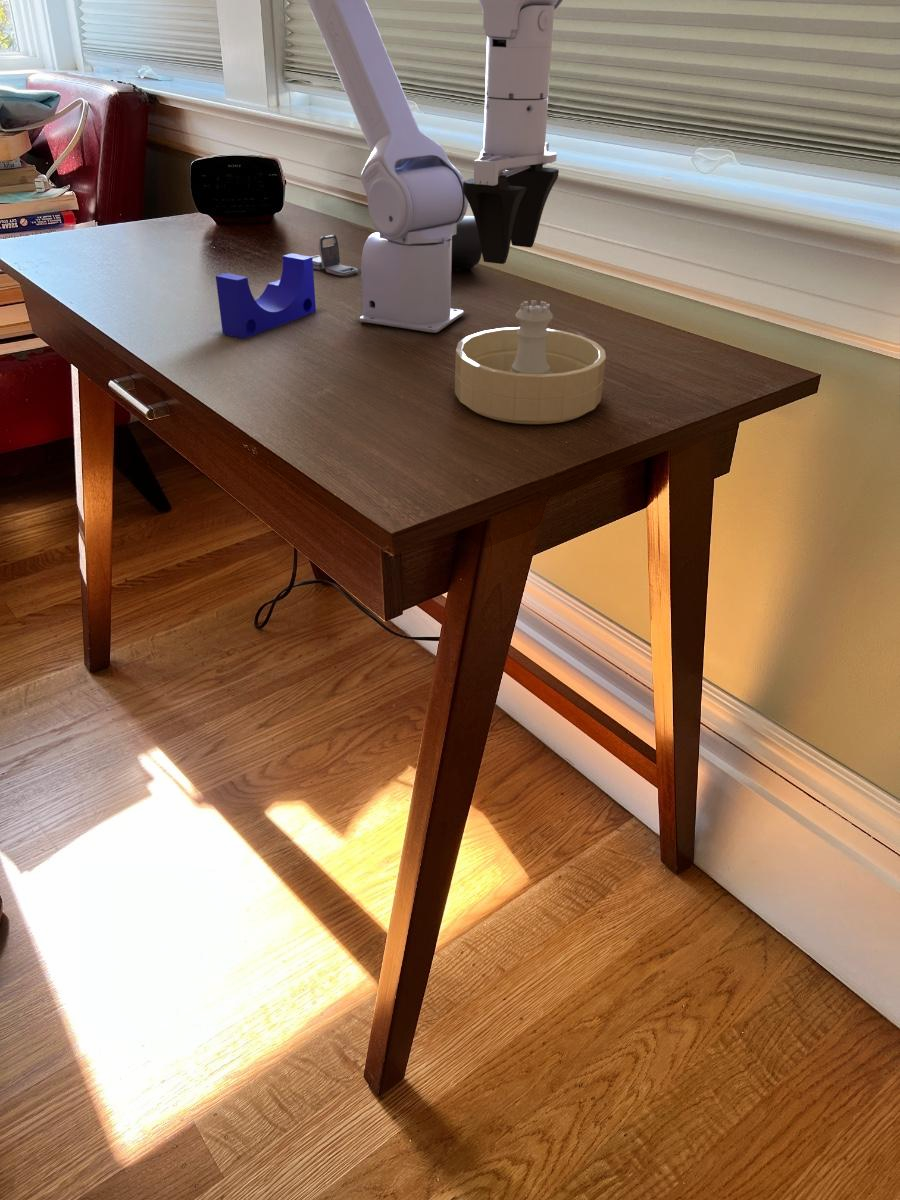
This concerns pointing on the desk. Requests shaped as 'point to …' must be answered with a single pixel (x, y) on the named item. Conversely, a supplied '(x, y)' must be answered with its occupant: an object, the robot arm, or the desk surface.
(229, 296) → the blue pipe saddle bracket
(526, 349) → the rook chess piece
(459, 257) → the end cap
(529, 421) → the pan
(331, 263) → the strap clip
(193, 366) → the desk surface
